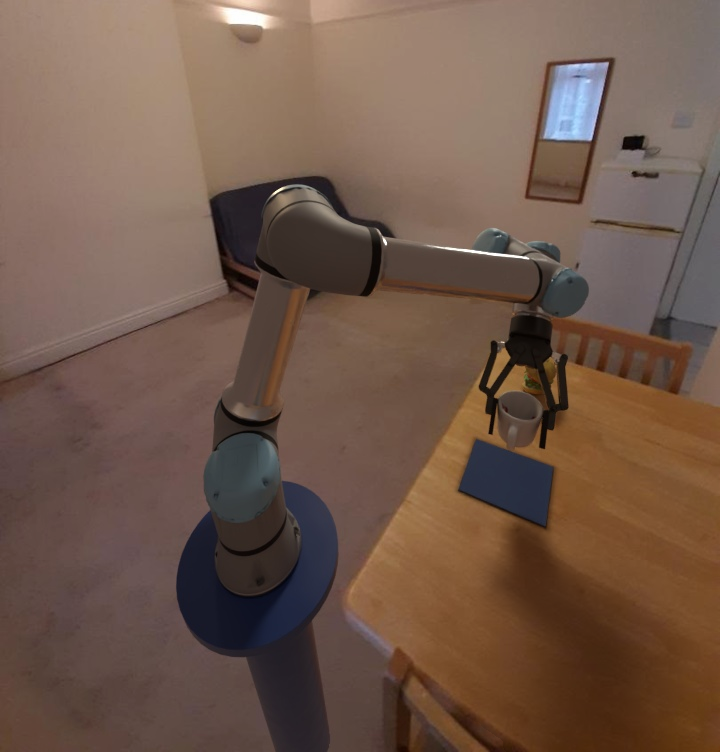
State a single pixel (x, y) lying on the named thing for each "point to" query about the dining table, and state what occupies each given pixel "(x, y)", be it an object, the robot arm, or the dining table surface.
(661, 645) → the dining table surface
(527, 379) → the hamburger
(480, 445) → the napkin
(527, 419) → the cup
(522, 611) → the dining table surface
